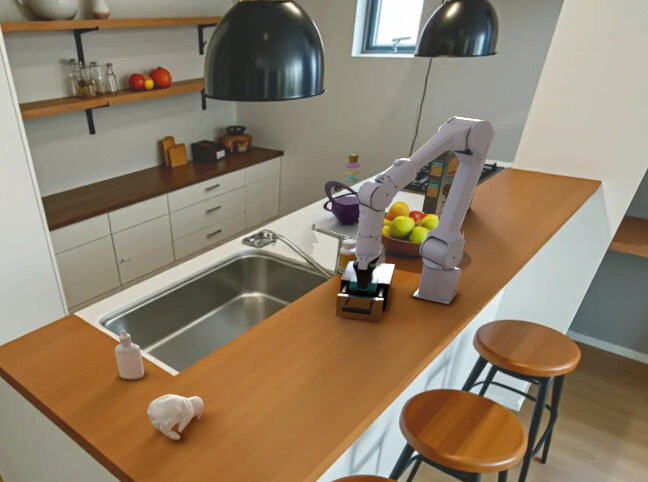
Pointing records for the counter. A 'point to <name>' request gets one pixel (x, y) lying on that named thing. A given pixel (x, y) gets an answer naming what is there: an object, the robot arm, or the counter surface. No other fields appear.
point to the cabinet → (381, 272)
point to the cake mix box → (440, 182)
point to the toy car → (370, 288)
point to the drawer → (360, 303)
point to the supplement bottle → (346, 254)
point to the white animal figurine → (174, 413)
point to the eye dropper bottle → (128, 358)
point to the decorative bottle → (345, 196)
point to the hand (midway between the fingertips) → (363, 285)
